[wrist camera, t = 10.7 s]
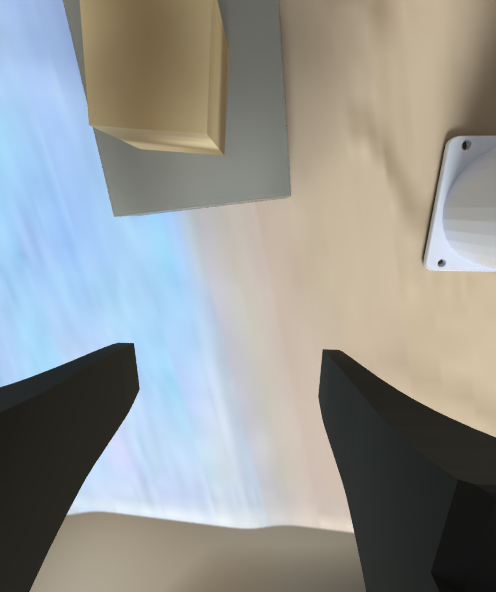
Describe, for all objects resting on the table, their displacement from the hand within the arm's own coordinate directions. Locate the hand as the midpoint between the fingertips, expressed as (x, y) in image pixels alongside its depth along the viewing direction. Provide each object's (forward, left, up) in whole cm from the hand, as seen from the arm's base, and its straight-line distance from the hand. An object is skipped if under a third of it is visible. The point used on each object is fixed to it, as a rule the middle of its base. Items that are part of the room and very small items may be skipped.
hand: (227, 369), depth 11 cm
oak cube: (+3, -11, -7) cm, 13 cm away
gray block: (+3, -11, -11) cm, 16 cm away
